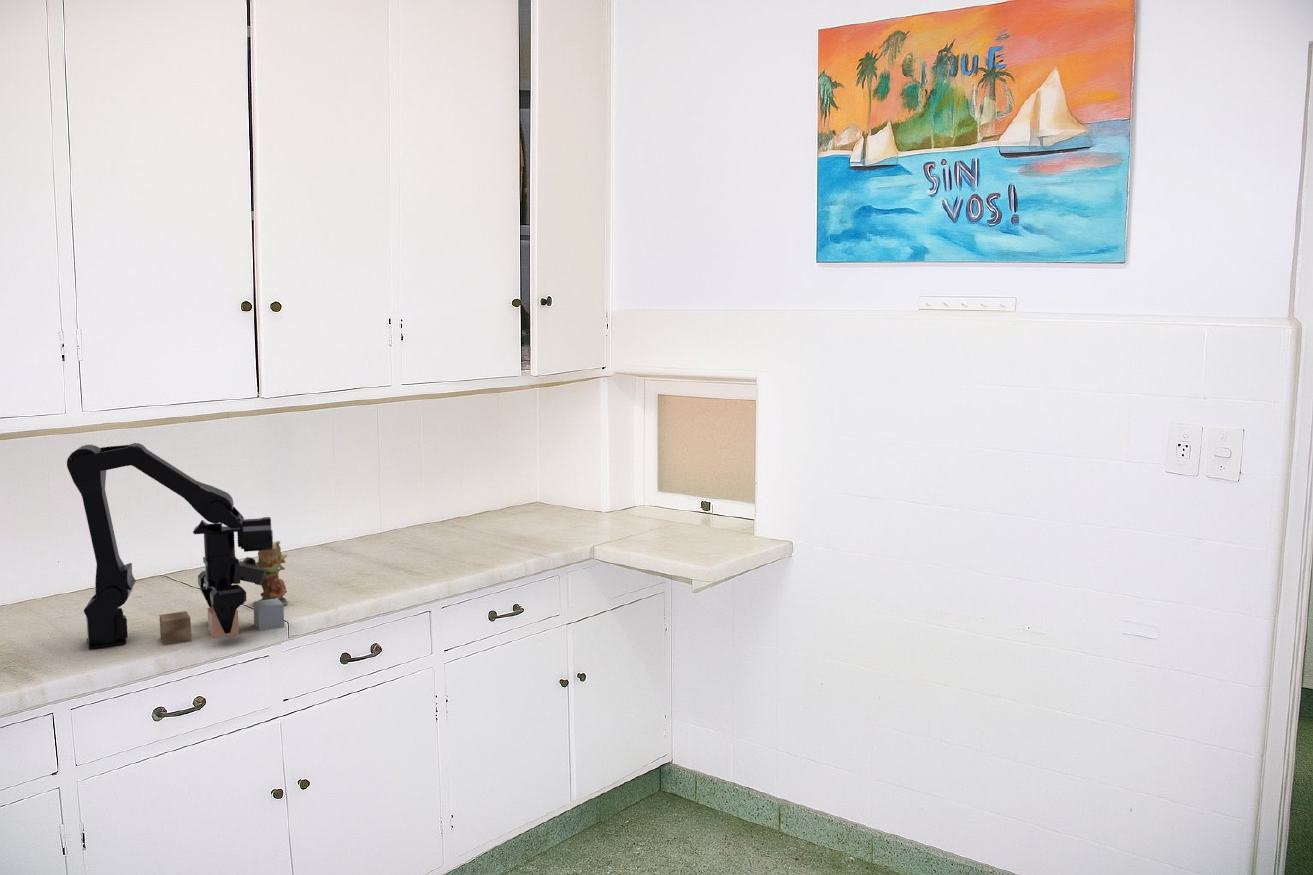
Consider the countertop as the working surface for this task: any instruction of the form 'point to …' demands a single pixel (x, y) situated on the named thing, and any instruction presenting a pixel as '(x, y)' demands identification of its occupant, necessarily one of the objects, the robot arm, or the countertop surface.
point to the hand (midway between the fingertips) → (223, 626)
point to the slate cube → (268, 614)
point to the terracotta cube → (215, 625)
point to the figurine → (272, 573)
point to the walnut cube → (175, 628)
